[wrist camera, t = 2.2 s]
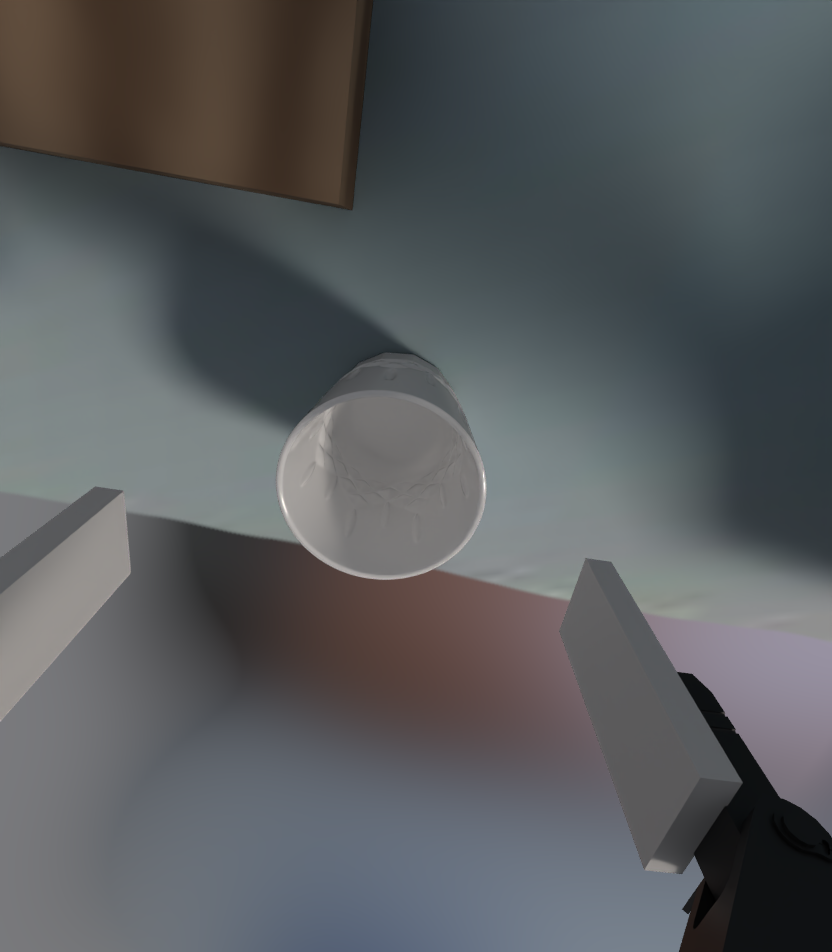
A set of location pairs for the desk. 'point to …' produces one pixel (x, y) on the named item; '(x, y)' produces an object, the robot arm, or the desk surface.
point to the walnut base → (192, 89)
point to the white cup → (383, 472)
